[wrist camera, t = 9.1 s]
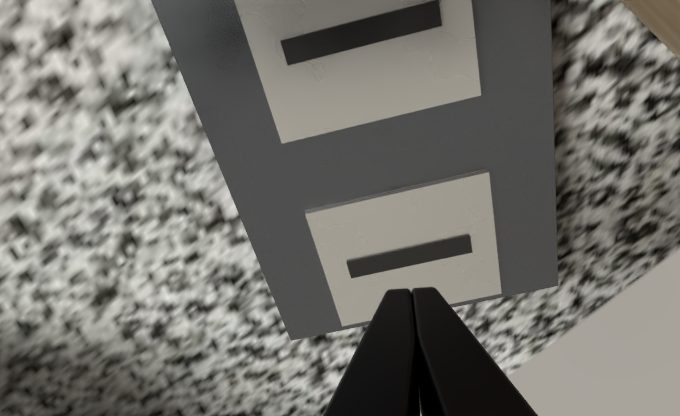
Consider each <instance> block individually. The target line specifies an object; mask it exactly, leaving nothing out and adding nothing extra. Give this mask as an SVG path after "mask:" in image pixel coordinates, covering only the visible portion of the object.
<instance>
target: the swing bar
mask: <svg viewBox="0 0 680 416" xmlns="http://www.w3.org/2000/svg"><path fill="white" fill-rule="evenodd" d="M621 1H622V2H623V3H624V4H625V5H626V6H627V7H628V8H629V9H630V10H631V11H632V12H633V13H634V14H635V15H636V16H637V17H638V18H639V19H640V20H641V21H642V22H643V23H644V24H645V25H646V26H647V27H648V28H649V29H650V30H651V31H652V32H653V33H654V34H655V35H656V36H657V37H658V38H659V39H660V40H661V41H662V42H663V43H664V44H665V45H666V46H667V47H668V48H669V49H670V50H671V51H672V52H673V53H674V54H675V55H676V56H677V57H678V58H679V59H680V0H621Z"/></svg>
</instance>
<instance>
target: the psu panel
mask: <svg viewBox="0 0 680 416" xmlns="http://www.w3.org/2000/svg"><path fill="white" fill-rule="evenodd" d="M151 1H152V3H153V6H154V8H155V11H156V13H157V15H158V18H159V20H160V23H161V25H162V28H163V30H164V32H165V35H166V37H167V40H168V42H169V45H170V47H171V50H172V52H173V54H174V57H175V59H176V62H177V64H178V67H179V69H180V71H181V74H182V76H183V79H184V81H185V84H186V86H187V88H188V91H189V93H190V96H191V98H192V101H193V103H194V106H195V108H196V110H197V113H198V115H199V118H200V120H201V123H202V125H203V127H204V130H205V132H206V135H207V137H208V140H209V142H210V144H211V147H212V149H213V152H214V154H215V157H216V159H217V162H218V164H219V166H220V169H221V171H222V174H223V176H224V179H225V181H226V183H227V186H228V188H229V191H230V193H231V196H232V198H233V201H234V203H235V205H236V208H237V210H238V213H239V215H240V218H241V220H242V222H243V225H244V227H245V230H246V232H247V235H248V237H249V239H250V242H251V244H252V247H253V249H254V252H255V254H256V257H257V259H258V261H259V264H260V266H261V269H262V271H263V274H264V276H265V278H266V281H267V283H268V286H269V288H270V291H271V293H272V295H273V298H274V300H275V303H276V305H277V308H278V310H279V313H280V315H281V317H282V320H283V322H284V325H285V327H286V330H287V332H288V334H289V337H290V339H291V340H296V339H301V338H306V337H311V336H316V335H321V334H325V333H330V332H335V331H340V330H345V329H350V328H355V327H360V326H364V325H369V324H370V322H371V320H372V318H373V316H374V314H375V312H376V310H377V308H378V306H379V304H380V302H381V300H382V298H383V296H384V294H385V293H386V291H387V290H389V289H402V288H408V289H410V291H412V289H413V288H419V287H434V288H436V289H437V290H438V291H439V292H440V294H441V295H442V296H443V297H444V299H445V300H446V301H447V302H448V304H449V305H450V306H451V307H457V306H462V305H467V304H472V303H476V302H481V301H486V300H491V299H496V298H501V297H506V296H510V295H515V294H520V293H525V292H530V291H535V290H540V289H545V288H549V287H554V286H558V258H557V221H556V183H555V146H554V109H553V72H552V35H551V0H151Z"/></svg>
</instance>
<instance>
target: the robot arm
mask: <svg viewBox="0 0 680 416" xmlns="http://www.w3.org/2000/svg"><path fill="white" fill-rule="evenodd" d="M419 397H420V400H419ZM420 407H421V415H422V416H538V415H537V414H536V413H535V411H534V410H533V409H532V408H531V406H530V405H529V404H528V403H527V401H526V400H525V399H524V398H523V396H522V395H521V394H520V393H519V391H518V390H517V389H516V388H515V387H514V385H513V384H512V383H511V381H510V380H509V379H508V378H507V376H506V375H505V374H504V373H503V371H502V370H501V369H500V368H499V366H498V365H497V364H496V363H495V361H494V360H493V359H492V358H491V356H490V355H489V354H488V353H487V351H486V350H485V349H484V348H483V346H482V345H481V344H480V343H479V341H478V340H477V339H476V338H475V336H474V335H473V334H472V333H471V331H470V330H469V329H468V328H467V326H466V325H465V324H464V323H463V321H462V320H461V319H460V317H459V316H458V315H457V314H456V312H455V311H454V310H453V309H452V307H451V306H450V305H449V304H448V302H447V301H446V300H445V299H444V297H443V296H442V295H441V294H440V292H439V291H438V290H437V289H436V288H434V287H419V288H413V289H412V291H410V289H408V288H402V289H389V290H387V291H386V293H385V294H384V296H383V298H382V300H381V302H380V304H379V306H378V308H377V310H376V312H375V314H374V316H373V318H372V320H371V322H370V324H369V326H368V328H367V330H366V332H365V334H364V336H363V337H362V339H361V341H360V343H359V345H358V347H357V349H356V351H355V353H354V355H353V357H352V359H351V361H350V363H349V365H348V367H347V369H346V371H345V373H344V375H343V377H342V379H341V381H340V383H339V385H338V387H337V389H336V391H335V393H334V394H333V396H332V398H331V400H330V402H329V404H328V406H327V408H326V410H325V412H324V414H323V416H420Z"/></svg>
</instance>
